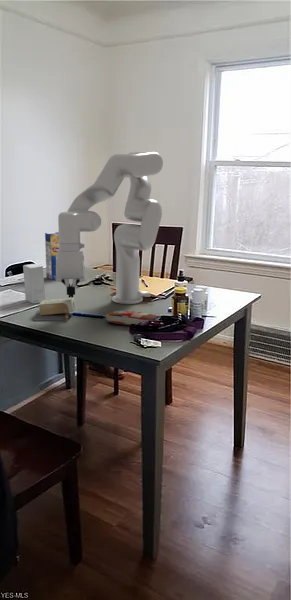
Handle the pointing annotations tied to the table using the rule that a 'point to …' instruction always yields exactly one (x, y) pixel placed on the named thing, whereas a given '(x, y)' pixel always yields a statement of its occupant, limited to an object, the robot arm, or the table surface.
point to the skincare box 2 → (57, 306)
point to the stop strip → (66, 317)
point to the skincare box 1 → (34, 283)
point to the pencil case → (130, 317)
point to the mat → (49, 317)
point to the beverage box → (51, 254)
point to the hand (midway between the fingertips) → (71, 296)
